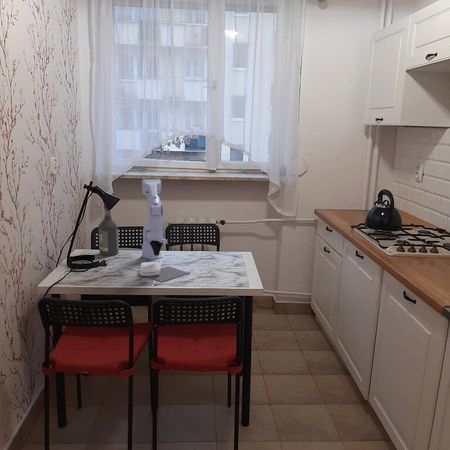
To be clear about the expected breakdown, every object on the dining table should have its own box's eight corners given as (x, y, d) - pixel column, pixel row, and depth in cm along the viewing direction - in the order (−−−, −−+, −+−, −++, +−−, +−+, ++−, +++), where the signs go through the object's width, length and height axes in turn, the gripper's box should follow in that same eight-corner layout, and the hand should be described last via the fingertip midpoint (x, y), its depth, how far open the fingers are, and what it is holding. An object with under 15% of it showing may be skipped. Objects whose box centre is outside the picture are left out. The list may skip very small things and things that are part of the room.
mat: (140, 274, 218) (140, 273, 218) (168, 266, 231) (168, 266, 231) (161, 282, 208) (161, 281, 208) (189, 273, 221) (189, 272, 221)
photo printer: (160, 261, 225) (160, 268, 213) (160, 269, 226) (160, 277, 214) (140, 261, 223) (138, 269, 211) (140, 269, 224) (138, 277, 212)
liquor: (112, 250, 259) (111, 200, 253) (120, 254, 253) (118, 202, 246) (98, 253, 254) (96, 201, 247) (105, 256, 247) (103, 204, 241)
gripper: (140, 227, 221) (141, 253, 224) (159, 232, 211) (159, 259, 214) (151, 225, 226) (152, 251, 229) (170, 230, 217) (170, 256, 219)
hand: (156, 255), depth 222 cm, fingers closed
